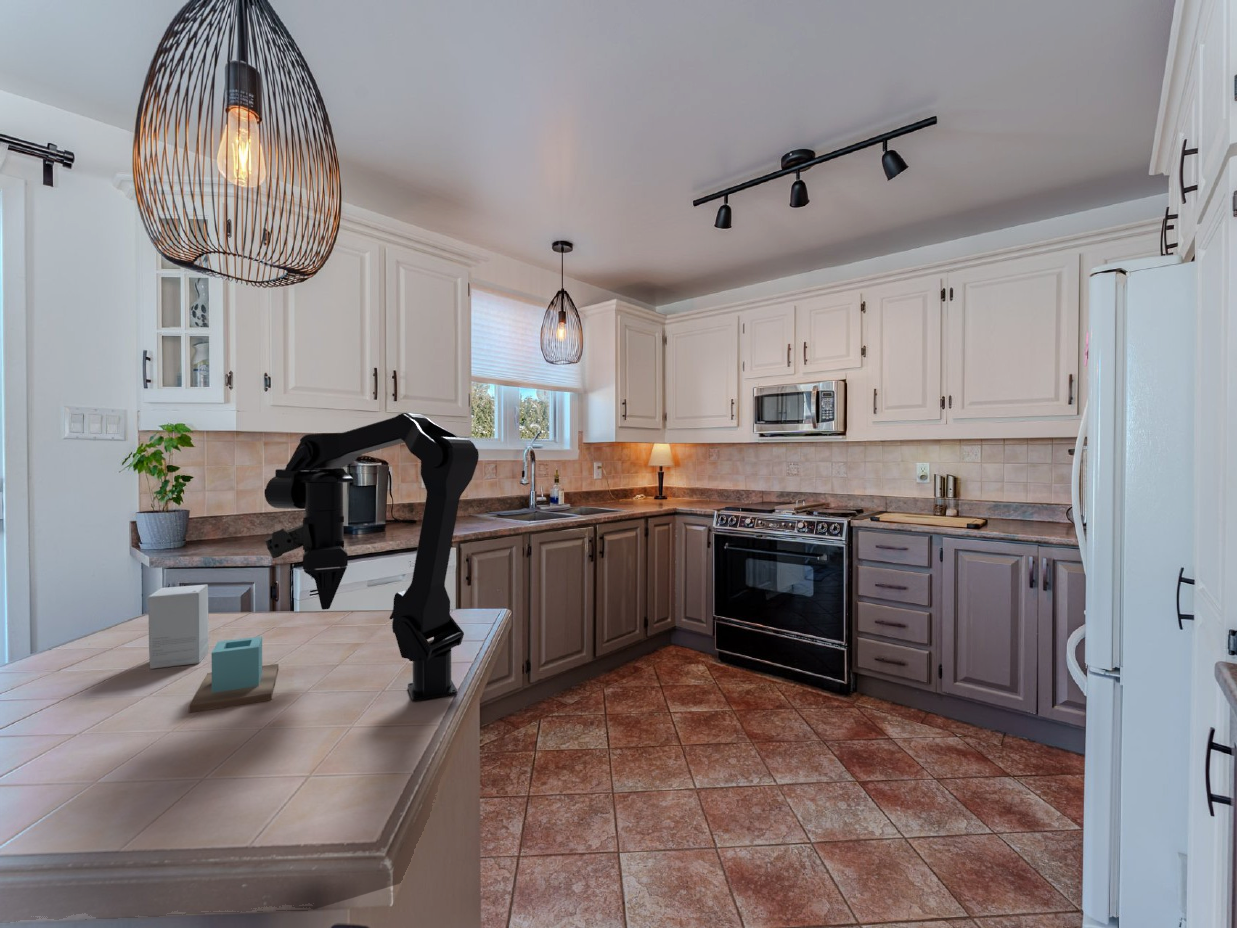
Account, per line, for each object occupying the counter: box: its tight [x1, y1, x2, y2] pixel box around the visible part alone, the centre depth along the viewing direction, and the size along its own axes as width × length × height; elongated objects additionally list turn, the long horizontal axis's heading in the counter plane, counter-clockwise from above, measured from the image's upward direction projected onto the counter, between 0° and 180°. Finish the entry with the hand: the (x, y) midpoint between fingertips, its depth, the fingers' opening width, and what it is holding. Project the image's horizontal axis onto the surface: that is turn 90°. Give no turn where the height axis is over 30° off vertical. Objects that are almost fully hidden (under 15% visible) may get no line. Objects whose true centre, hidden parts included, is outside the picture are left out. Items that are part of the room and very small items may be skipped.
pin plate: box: [188, 663, 279, 713], centre depth 91 cm, size 14×10×5 cm
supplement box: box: [147, 584, 210, 670], centre depth 104 cm, size 7×7×13 cm
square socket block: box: [211, 636, 263, 693], centre depth 91 cm, size 6×6×6 cm
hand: (325, 603), depth 98 cm, fingers open, 9 cm apart
